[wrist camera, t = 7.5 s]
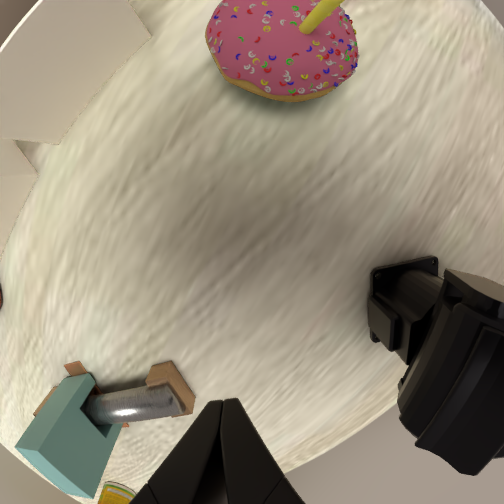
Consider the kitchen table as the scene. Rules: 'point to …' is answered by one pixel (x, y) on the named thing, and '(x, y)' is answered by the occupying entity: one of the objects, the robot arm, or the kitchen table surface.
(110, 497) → the supplement bottle
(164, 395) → the pipe rail
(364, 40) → the kitchen table surface
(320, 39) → the cupcake
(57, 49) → the storage container
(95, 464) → the sleeve
